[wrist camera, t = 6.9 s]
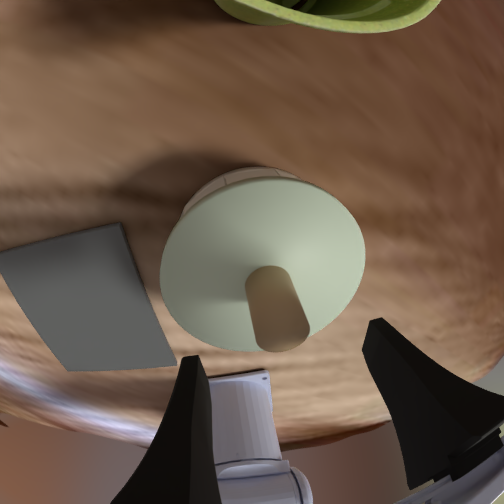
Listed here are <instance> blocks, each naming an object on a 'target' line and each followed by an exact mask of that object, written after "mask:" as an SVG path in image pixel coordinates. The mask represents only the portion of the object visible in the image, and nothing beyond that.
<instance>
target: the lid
mask: <svg viewBox="0 0 504 504" xmlns="http://www.w3.org/2000/svg"><path fill="white" fill-rule="evenodd" d="M364 265H365V246H364V240H363V237H362V233H361V230H360V228H359V226H358V224H357V222H356V221H355V219H354V218H353V216H352V215H351V214H350V212H349V211H348V210H347V209H346V208H345V207H344V206H343V205H342V204H341V203H340V202H339V201H338V200H337V199H336V198H335V197H334V196H333V195H331V194H330V193H328V192H327V191H325V190H324V189H322V188H320V187H318V186H316V185H314V184H312V183H310V182H307V181H303V180H300V179H296V178H290V177H283V176H261V177H254V178H247V179H243V180H240V181H236V182H232V183H230V184H228V185H225V186H223V187H220V188H218V189H216V190H214V191H213V192H211V193H209V194H208V195H206V196H204V197H203V198H202V199H200V200H199V201H198V202H196V203H195V204H194V205H193V206H191V207H190V208H189V209H188V210H187V211H186V213H185V214H184V215H183V216H182V217H181V218H180V219H179V221H178V222H177V224H176V225H175V226H174V228H173V229H172V231H171V233H170V235H169V237H168V239H167V242H166V245H165V248H164V251H163V255H162V260H161V267H160V288H161V294H162V297H163V300H164V303H165V305H166V307H167V309H168V311H169V312H170V314H171V316H172V317H173V318H174V319H175V321H176V322H177V323H178V324H179V325H180V326H181V327H182V328H183V329H184V330H185V331H187V332H188V333H189V334H191V335H192V336H194V337H195V338H197V339H199V340H201V341H203V342H205V343H208V344H210V345H212V346H216V347H219V348H223V349H228V350H234V351H268V352H284V351H288V350H291V349H293V348H295V347H297V346H299V345H300V344H302V343H303V342H304V341H305V340H306V338H307V337H309V336H311V335H313V334H315V333H316V332H318V331H320V330H321V329H322V328H324V327H325V326H327V325H328V324H329V323H330V322H331V321H333V320H334V319H335V318H336V317H337V316H338V315H339V314H340V313H341V312H342V311H343V310H344V309H345V307H346V306H347V305H348V303H349V302H350V301H351V299H352V297H353V296H354V294H355V292H356V290H357V288H358V286H359V284H360V281H361V278H362V275H363V271H364Z"/></svg>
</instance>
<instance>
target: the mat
mask: <svg viewBox="0 0 504 504" xmlns="http://www.w3.org/2000/svg"><path fill="white" fill-rule="evenodd" d="M0 273H1V275H2V276H3V278H4V280H5V282H6V284H7V285H8V287H9V289H10V291H11V292H12V294H13V296H14V297H15V299H16V301H17V302H18V304H19V305H20V307H21V309H22V310H23V312H24V313H25V315H26V316H27V318H28V319H29V321H30V322H31V324H32V325H33V327H34V328H35V329H36V331H37V332H38V334H39V335H40V337H41V338H42V339H43V341H44V342H45V343H46V345H47V346H48V347H49V349H50V350H51V351H52V353H53V354H54V355H55V356H56V358H57V359H58V360H59V361H60V363H61V364H62V365H63V366H64V367H65V369H66V370H67V371H110V370H130V369H144V368H157V367H168V366H177V360H176V358H175V356H174V354H173V352H172V350H171V348H170V346H169V344H168V341H167V339H166V337H165V335H164V333H163V331H162V328H161V326H160V324H159V321H158V319H157V317H156V315H155V312H154V310H153V308H152V305H151V303H150V300H149V298H148V295H147V293H146V290H145V288H144V285H143V283H142V280H141V278H140V275H139V273H138V270H137V267H136V265H135V262H134V259H133V256H132V254H131V251H130V248H129V245H128V242H127V239H126V236H125V233H124V230H123V227H122V224H121V222H120V223H115V224H110V225H106V226H101V227H96V228H92V229H88V230H83V231H79V232H75V233H70V234H66V235H62V236H58V237H54V238H50V239H46V240H42V241H38V242H34V243H30V244H27V245H23V246H19V247H16V248H12V249H8V250H5V251H1V252H0Z"/></svg>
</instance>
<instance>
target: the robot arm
mask: <svg viewBox="0 0 504 504" xmlns="http://www.w3.org/2000/svg"><path fill="white" fill-rule="evenodd" d="M362 352H363V355H364V358H365V361H366V364H367V366H368V369H369V371H370V373H371V375H372V377H373V379H374V381H375V383H376V385H377V387H378V389H379V391H380V393H381V395H382V397H383V399H384V401H385V403H386V406H387V408H388V410H389V412H390V415H391V417H392V420H393V423H394V426H395V429H396V433H397V436H398V439H399V443H400V447H401V451H402V455H403V460H404V465H405V471H406V477H407V484H408V487H409V489H410V490H412V489H414V488H416V487H418V486H420V485H422V484H424V483H426V482H427V481H430V480H431V479H433V480H434V482H435V483H433V484H432V485H430V486H428V487H426V488H424V489H422V490H421V491H418V492H416V493H414V494H412V495H410V496H408V497H407V498H404V499H402V500H400V501H398V502H395V503H393V504H421V503H423V502H425V501H426V502H425V504H492V503H493V502H494V501H495V500H496V499H497V498H498V497H499V496H500V495H501V494H502V493H503V492H504V436H502V437H501V438H500V437H499V434H500V433H501V430H500V428H499V427H500V426H501V425H502V424H503V423H504V396H502V395H499V394H496V393H493V392H490V391H487V390H485V389H482V388H480V387H478V386H475V385H473V384H471V383H469V382H467V381H465V380H464V379H462V378H460V377H458V376H456V375H455V374H453V373H451V372H450V371H448V370H447V369H445V368H443V367H442V366H440V365H439V364H438V363H436V362H435V361H434V360H432V359H431V358H429V357H428V356H427V355H426V354H424V353H423V352H422V351H421V350H419V349H418V348H417V347H416V346H415V345H413V344H412V343H411V342H410V341H409V340H407V339H406V338H405V337H404V336H403V335H402V334H400V333H399V332H398V331H397V330H396V329H395V328H394V327H393V326H391V325H390V324H389V323H388V322H387V321H386V320H384V319H383V318H382V317H381V318H377V319H374V320H370V321H369V325H368V329H367V333H366V337H365V340H364V344H363V347H362ZM272 411H273V408H272V398H271V388H270V377H269V372H268V371H267V370H262V371H256V372H251V373H245V374H238V375H232V376H225V377H218V378H210V379H208V378H207V376H206V373H205V371H204V368H203V366H202V363H201V360H200V358H199V355H194V356H186V357H183V358H182V360H181V364H180V368H179V372H178V376H177V380H176V383H175V386H174V389H173V392H172V395H171V398H170V401H169V404H168V407H167V409H166V412H165V414H164V417H163V419H162V422H161V424H160V426H159V428H158V431H157V433H156V435H155V437H154V439H153V441H152V443H151V445H150V447H149V449H148V450H147V452H146V454H145V456H144V457H143V459H142V461H141V462H140V464H139V466H138V467H137V469H136V470H135V472H134V473H133V474H132V476H131V477H130V479H129V480H128V482H127V483H126V484H125V486H124V487H123V488H122V490H121V491H120V492H119V493H118V494H117V496H116V497H115V498H114V499H113V500H112V501H111V503H110V504H313V498H312V492H311V488H310V485H309V483H308V480H307V478H306V477H305V475H304V474H303V473H302V472H300V471H299V470H298V469H297V468H295V467H290V466H289V462H288V460H282V456H281V452H280V448H279V443H278V439H277V434H276V430H275V426H274V421H273V417H272Z"/></svg>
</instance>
